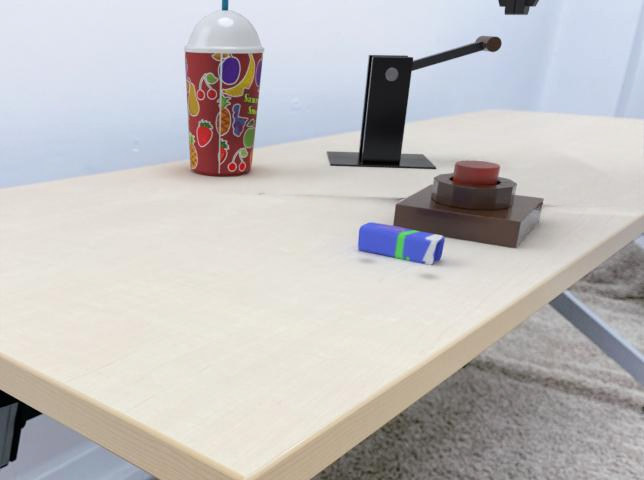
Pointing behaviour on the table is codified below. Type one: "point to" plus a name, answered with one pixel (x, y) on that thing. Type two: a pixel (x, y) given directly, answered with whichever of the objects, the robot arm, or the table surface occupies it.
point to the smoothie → (222, 92)
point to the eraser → (400, 243)
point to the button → (476, 173)
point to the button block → (470, 211)
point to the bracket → (384, 118)
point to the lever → (460, 51)
